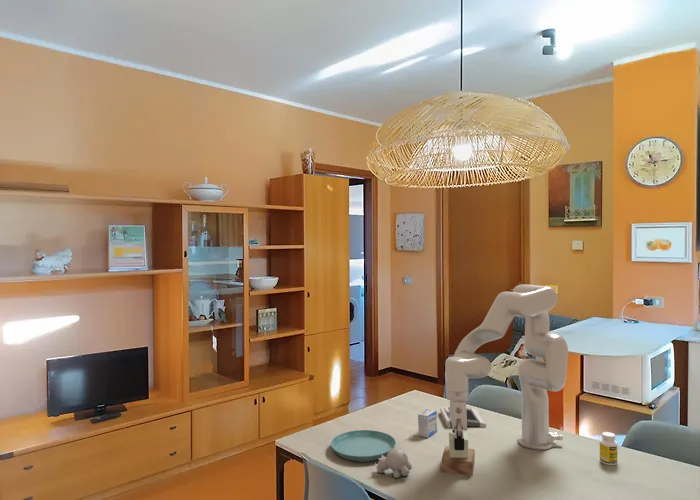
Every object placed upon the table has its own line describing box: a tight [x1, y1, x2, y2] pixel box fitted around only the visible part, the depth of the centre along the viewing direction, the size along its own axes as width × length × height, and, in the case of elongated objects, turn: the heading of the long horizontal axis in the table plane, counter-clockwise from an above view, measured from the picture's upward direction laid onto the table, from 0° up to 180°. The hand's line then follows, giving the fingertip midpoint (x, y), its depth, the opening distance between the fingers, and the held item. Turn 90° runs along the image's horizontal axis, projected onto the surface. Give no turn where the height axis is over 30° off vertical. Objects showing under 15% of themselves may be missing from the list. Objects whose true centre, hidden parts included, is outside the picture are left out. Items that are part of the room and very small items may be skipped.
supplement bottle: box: [599, 431, 618, 466], centre depth 170 cm, size 5×5×10 cm
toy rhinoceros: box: [374, 447, 413, 479], centre depth 166 cm, size 7×12×8 cm, turn 65°
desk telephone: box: [439, 406, 487, 429], centre depth 212 cm, size 17×5×16 cm
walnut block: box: [441, 445, 476, 477], centre depth 169 cm, size 10×10×5 cm
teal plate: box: [330, 429, 397, 463], centre depth 185 cm, size 24×24×3 cm
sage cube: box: [448, 432, 469, 458], centre depth 169 cm, size 6×6×6 cm
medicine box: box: [417, 408, 438, 439], centre depth 198 cm, size 8×4×9 cm, turn 143°
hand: (458, 443), depth 169 cm, fingers open, 9 cm apart
